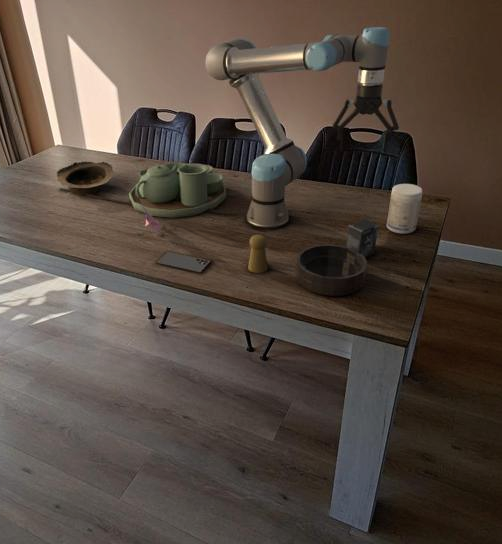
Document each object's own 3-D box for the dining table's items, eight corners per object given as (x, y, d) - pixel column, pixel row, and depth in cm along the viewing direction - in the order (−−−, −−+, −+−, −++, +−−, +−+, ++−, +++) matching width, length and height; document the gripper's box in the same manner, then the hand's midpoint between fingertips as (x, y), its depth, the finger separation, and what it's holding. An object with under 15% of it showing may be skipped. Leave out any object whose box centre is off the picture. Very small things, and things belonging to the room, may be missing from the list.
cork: (246, 264, 160) (246, 233, 154) (265, 262, 160) (265, 231, 154) (250, 273, 155) (250, 242, 149) (269, 271, 155) (270, 240, 149)
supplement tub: (400, 220, 179) (407, 181, 171) (421, 230, 172) (430, 190, 164) (379, 226, 176) (385, 187, 168) (400, 237, 168) (408, 196, 161)
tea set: (240, 186, 215) (240, 148, 206) (199, 225, 185) (196, 183, 177) (160, 175, 231) (157, 140, 223) (110, 210, 202) (104, 171, 193)
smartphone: (168, 251, 169) (210, 259, 162) (168, 253, 169) (210, 261, 162) (156, 262, 163) (200, 271, 156) (156, 263, 164) (200, 272, 157)
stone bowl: (87, 174, 238) (85, 155, 233) (127, 187, 226) (126, 168, 221) (47, 192, 221) (44, 172, 216) (88, 207, 209) (85, 186, 204)
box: (358, 261, 157) (362, 231, 151) (344, 254, 161) (347, 225, 155) (374, 253, 160) (379, 223, 155) (360, 247, 164) (364, 217, 159)
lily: (151, 246, 176) (162, 223, 172) (123, 230, 178) (134, 206, 174) (163, 240, 187) (174, 218, 183) (137, 225, 189) (147, 203, 185)
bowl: (291, 293, 144) (293, 274, 141) (300, 259, 160) (301, 241, 157) (363, 301, 139) (366, 282, 135) (364, 266, 154) (367, 247, 151)
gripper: (327, 86, 155) (322, 152, 166) (414, 85, 148) (403, 155, 159) (329, 81, 161) (323, 145, 172) (412, 80, 154) (401, 147, 165)
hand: (362, 150), depth 166 cm, fingers open, 13 cm apart
